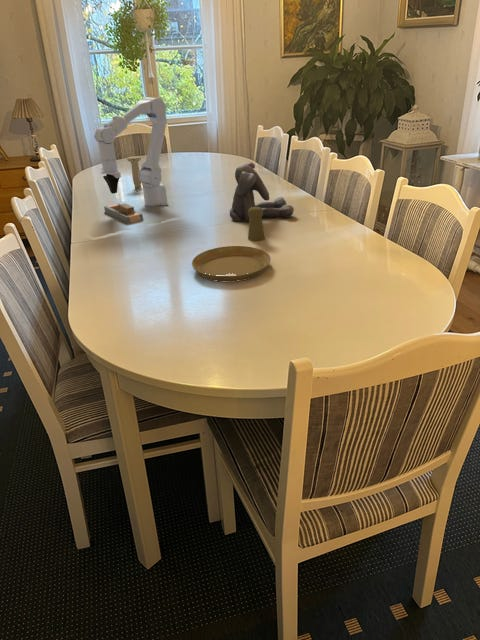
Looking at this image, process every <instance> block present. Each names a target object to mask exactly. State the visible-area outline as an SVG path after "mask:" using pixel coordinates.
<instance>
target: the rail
mask: <svg viewBox="0 0 480 640" xmlns="http://www.w3.org/2000/svg"><path fill="white" fill-rule="evenodd" d="M119 204H121V203H115V204H108V205H105V206H103V209H104V212H103V213H104V214H105V215H107V216H110V217H111V218H113V219H116V220H117V221H119V222H121V223H124V224H126V225H128V224H133V223H136V222H140V221H144V220H145V218H144V217H143V216H144V215H143V213H142V212H139V211H137V210H135V209H134V212H135V213H133V214H129V215H125V214H123V213H121V212H119V206H118V205H119Z"/></svg>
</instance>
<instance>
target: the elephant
mask: <svg viewBox="0 0 480 640" xmlns="http://www.w3.org/2000/svg"><path fill="white" fill-rule="evenodd" d="M255 168H256V165H255V163H253V162H248V163H244V164H241V165H239V166H237V168H236V169H235V171H234V177H235V181H236V183H237V185H236V187H235V189H234V194H233V197H232V198H233V200H232V204H231V208H230V210H229V216H230V218H231V219H232V221H235V222H240V223H249V221H250V217H249V215H248V210H249V209H250V208H251V207H260V208H262V210H263V215H262V219H270V218H271V219H272V218H273V219H274V218H275V219H276V218H278V219H279V218H283V219H285V218H290V217H291V216H292V215H293V214H294V209H295V208H294V206H293V205H290V204H287V201H286V200H285V198H284V197H281V196H280V197H276V199H274V200H273V201H270V193H269V191H268V189H267V187H266V185H265V183H264V181H263V180H262V178H261V177H260V175H259V174H258V172H257V171H256V170H255ZM254 191H255V192H257V193H259V195H260V197H261V198H262V199H263V200H264V201H263V202H259V203H255V194H254Z"/></svg>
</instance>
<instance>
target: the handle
mask: <svg viewBox="0 0 480 640" xmlns="http://www.w3.org/2000/svg"><path fill="white" fill-rule="evenodd" d="M141 160H142V157H141V156H139V155H136V156H135V155H134V156H128V157H127V161H128V162H130V165H131V175H132V176H131V177H132V181H133V186H134V189H135V190H136V189H137V190H139V189H142V182H140V181H139V179H138V173H139V171H140V167H139V161H141Z"/></svg>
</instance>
